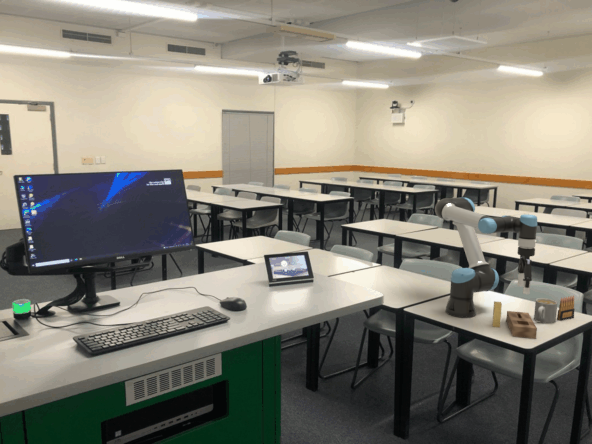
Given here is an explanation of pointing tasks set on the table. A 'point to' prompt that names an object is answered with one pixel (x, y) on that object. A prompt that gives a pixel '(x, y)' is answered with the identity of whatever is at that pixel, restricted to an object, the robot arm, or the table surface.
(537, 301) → the coffee mug
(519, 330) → the walnut bore block
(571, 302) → the ammunition clip
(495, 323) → the brass square peg
